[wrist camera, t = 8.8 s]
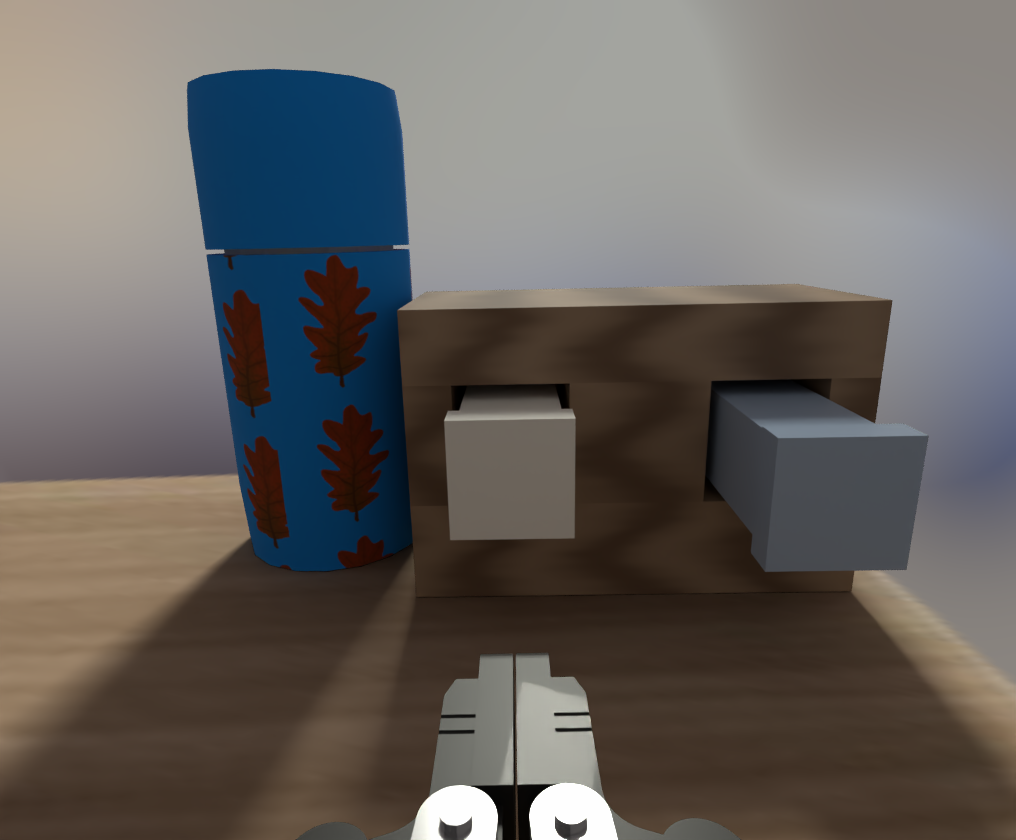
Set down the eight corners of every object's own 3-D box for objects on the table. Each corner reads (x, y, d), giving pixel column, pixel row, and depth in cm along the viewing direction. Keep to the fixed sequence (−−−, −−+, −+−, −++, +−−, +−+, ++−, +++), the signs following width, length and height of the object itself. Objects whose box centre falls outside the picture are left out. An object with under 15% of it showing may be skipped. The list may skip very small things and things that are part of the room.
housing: (416, 596, 33) (397, 310, 29) (438, 515, 42) (426, 291, 38) (851, 591, 32) (892, 300, 28) (774, 510, 42) (797, 284, 38)
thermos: (451, 546, 38) (427, 79, 31) (260, 591, 34) (183, 58, 27) (396, 486, 48) (369, 117, 41) (241, 516, 43) (181, 106, 36)
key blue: (765, 571, 24) (778, 438, 22) (685, 465, 35) (691, 371, 34) (906, 569, 24) (928, 435, 22) (782, 464, 35) (791, 369, 33)
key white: (450, 540, 27) (443, 421, 26) (468, 451, 38) (465, 365, 37) (574, 538, 27) (575, 418, 25) (557, 450, 38) (557, 363, 36)
